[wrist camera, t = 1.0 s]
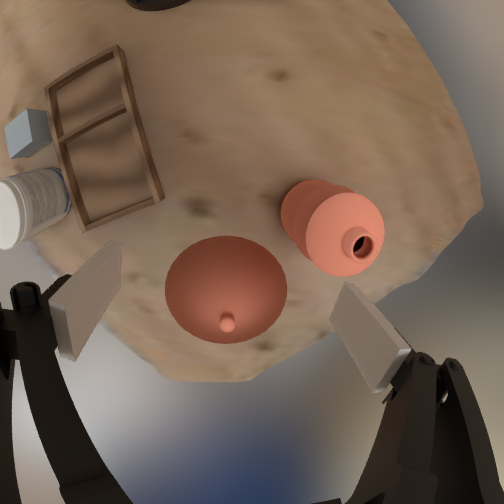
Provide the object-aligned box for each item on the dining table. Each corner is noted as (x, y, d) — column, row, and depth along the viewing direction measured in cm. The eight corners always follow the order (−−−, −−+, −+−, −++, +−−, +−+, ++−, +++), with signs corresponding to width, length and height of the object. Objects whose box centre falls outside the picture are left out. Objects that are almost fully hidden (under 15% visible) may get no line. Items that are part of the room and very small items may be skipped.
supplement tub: (50, 156, 34) (-7, 163, 20) (83, 190, 37) (30, 208, 23) (27, 200, 35) (-25, 221, 22) (58, 233, 38) (8, 265, 24)
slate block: (24, 128, 31) (4, 127, 25) (46, 111, 31) (26, 108, 25) (30, 156, 33) (9, 158, 27) (52, 141, 33) (32, 141, 27)
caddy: (54, 90, 30) (44, 87, 26) (123, 51, 30) (117, 44, 26) (91, 227, 39) (82, 233, 36) (165, 197, 39) (160, 201, 36)
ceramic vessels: (233, 360, 51) (240, 438, 33) (142, 300, 44) (108, 375, 27) (366, 229, 44) (436, 272, 26) (280, 139, 38) (327, 126, 20)
